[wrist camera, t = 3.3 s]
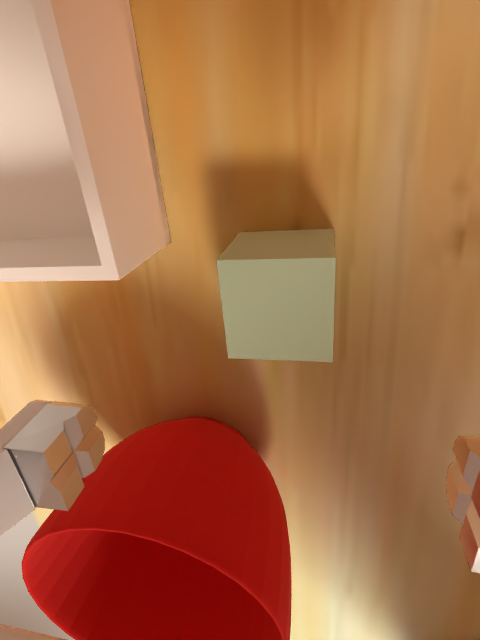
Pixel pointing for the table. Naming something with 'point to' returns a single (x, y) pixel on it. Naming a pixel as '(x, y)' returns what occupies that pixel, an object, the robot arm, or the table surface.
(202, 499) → the ceramic cup
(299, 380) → the table surface
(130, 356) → the table surface
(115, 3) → the tub
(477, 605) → the table surface
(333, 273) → the sage cube
